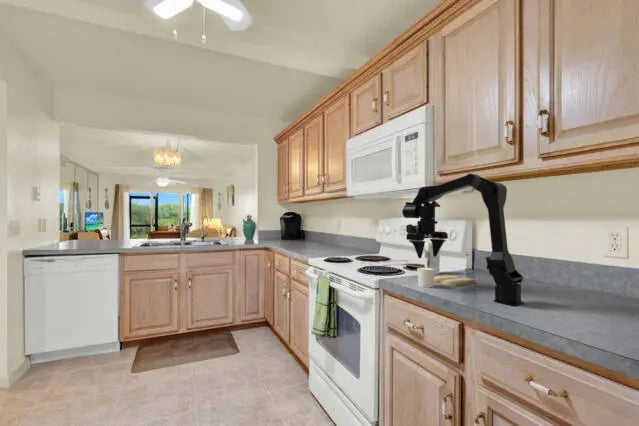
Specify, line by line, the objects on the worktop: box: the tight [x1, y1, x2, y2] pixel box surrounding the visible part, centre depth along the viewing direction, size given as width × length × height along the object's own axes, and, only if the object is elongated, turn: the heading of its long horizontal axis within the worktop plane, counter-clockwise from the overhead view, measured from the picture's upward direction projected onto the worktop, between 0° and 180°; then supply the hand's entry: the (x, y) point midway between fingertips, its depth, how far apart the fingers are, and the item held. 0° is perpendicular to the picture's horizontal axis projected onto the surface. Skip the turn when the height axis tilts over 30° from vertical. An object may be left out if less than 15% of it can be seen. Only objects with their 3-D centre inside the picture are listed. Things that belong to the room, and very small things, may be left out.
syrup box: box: [424, 242, 441, 275], centre depth 153 cm, size 6×6×14 cm
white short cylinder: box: [416, 266, 436, 289], centre depth 126 cm, size 7×7×7 cm
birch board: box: [434, 273, 476, 288], centre depth 135 cm, size 14×14×1 cm
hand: (427, 257), depth 126 cm, fingers open, 9 cm apart
